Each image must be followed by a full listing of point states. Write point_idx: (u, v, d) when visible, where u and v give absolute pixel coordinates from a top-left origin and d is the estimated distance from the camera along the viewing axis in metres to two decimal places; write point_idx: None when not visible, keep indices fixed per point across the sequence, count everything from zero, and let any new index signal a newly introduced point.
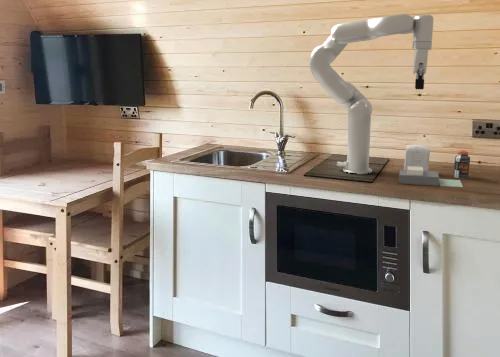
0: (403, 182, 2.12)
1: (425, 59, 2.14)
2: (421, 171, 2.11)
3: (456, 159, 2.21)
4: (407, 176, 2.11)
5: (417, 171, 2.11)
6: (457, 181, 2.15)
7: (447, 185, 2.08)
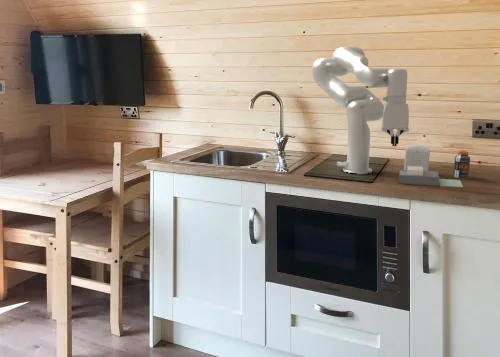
0: (403, 182, 2.12)
1: None
2: (421, 171, 2.11)
3: (456, 159, 2.21)
4: (407, 176, 2.11)
5: (417, 171, 2.11)
6: (457, 181, 2.15)
7: (447, 185, 2.08)
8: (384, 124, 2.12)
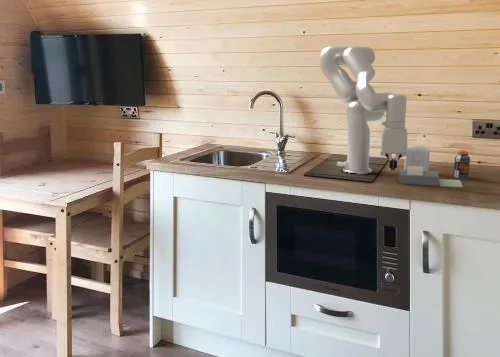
0: (403, 182, 2.12)
1: None
2: (421, 171, 2.11)
3: (456, 159, 2.21)
4: (407, 176, 2.11)
5: (417, 171, 2.11)
6: (457, 181, 2.15)
7: (447, 185, 2.08)
8: (383, 148, 2.14)
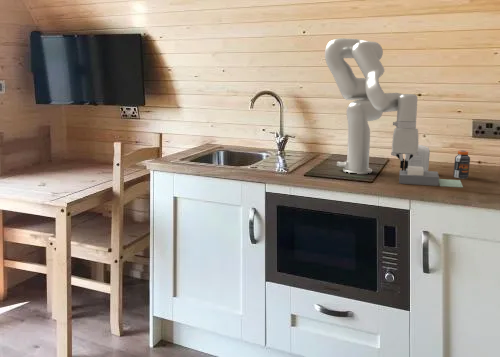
0: (403, 182, 2.12)
1: None
2: (421, 171, 2.11)
3: (456, 159, 2.21)
4: (407, 176, 2.11)
5: (417, 171, 2.11)
6: (457, 181, 2.15)
7: (447, 185, 2.08)
8: (394, 149, 2.13)
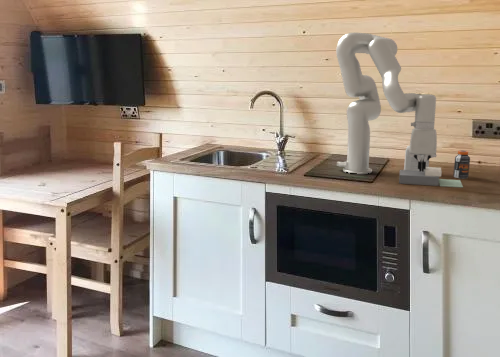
0: (403, 182, 2.12)
1: None
2: (439, 172, 2.09)
3: (456, 159, 2.21)
4: (407, 176, 2.11)
5: (435, 172, 2.09)
6: (457, 181, 2.15)
7: (447, 185, 2.08)
8: (412, 149, 2.11)
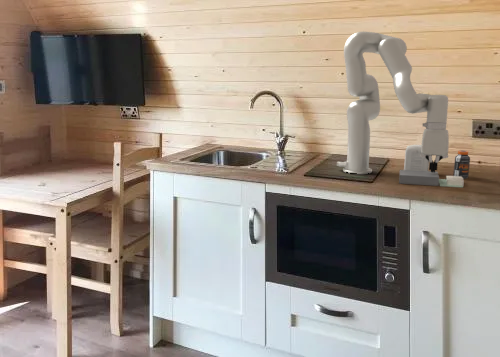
0: (403, 182, 2.12)
1: None
2: (448, 183, 2.09)
3: (456, 159, 2.21)
4: (407, 176, 2.11)
5: (453, 184, 2.08)
6: None
7: (447, 185, 2.08)
8: (423, 150, 2.10)
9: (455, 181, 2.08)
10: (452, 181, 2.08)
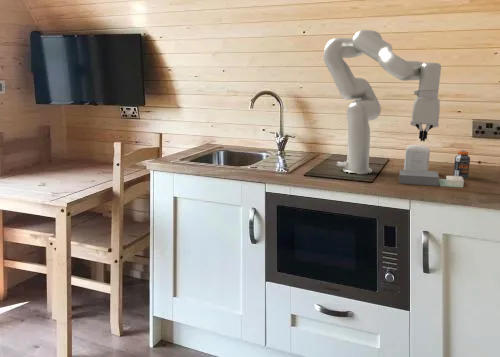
0: (403, 182, 2.12)
1: None
2: (448, 183, 2.09)
3: (456, 159, 2.21)
4: (407, 176, 2.11)
5: (453, 184, 2.08)
6: None
7: (447, 185, 2.08)
8: (414, 118, 2.09)
9: (455, 181, 2.08)
10: (452, 181, 2.08)
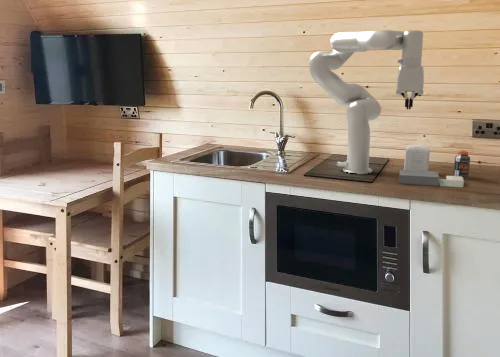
0: (403, 182, 2.12)
1: None
2: (448, 183, 2.09)
3: (456, 159, 2.21)
4: (407, 176, 2.11)
5: (453, 184, 2.08)
6: None
7: (447, 185, 2.08)
8: (399, 86, 2.11)
9: (455, 181, 2.08)
10: (452, 181, 2.08)
